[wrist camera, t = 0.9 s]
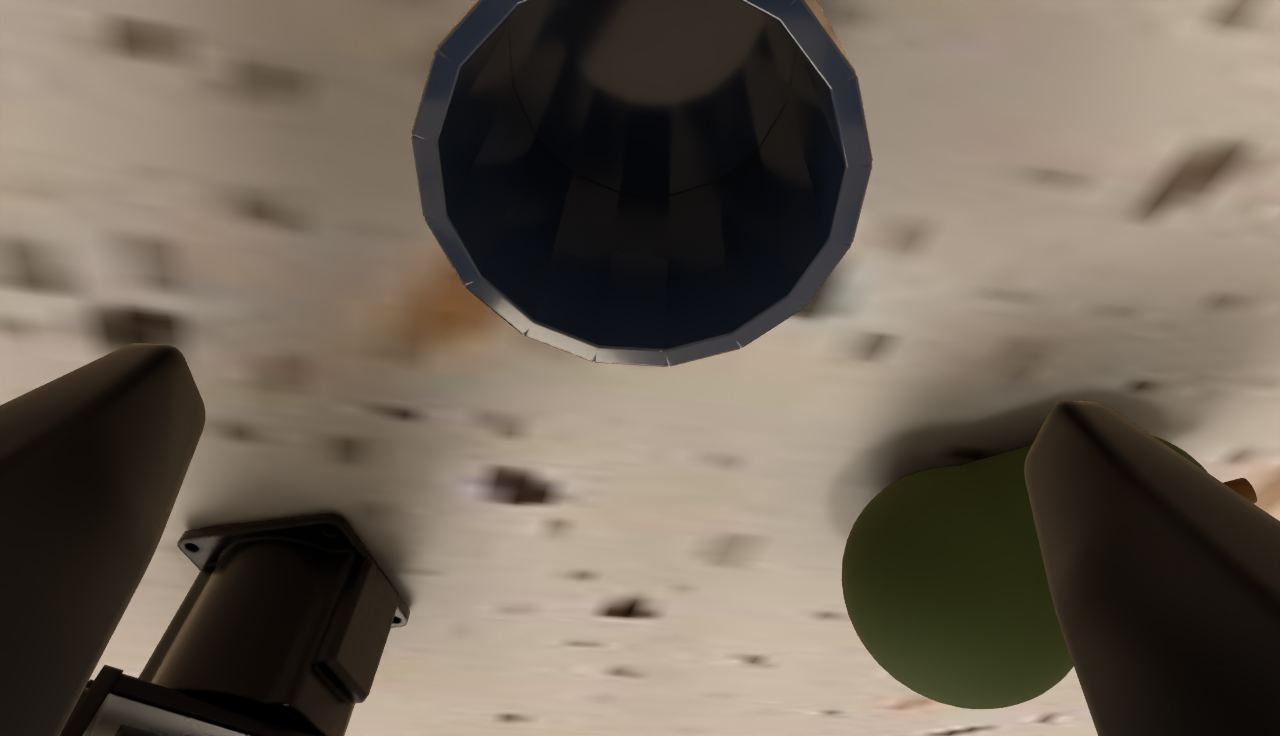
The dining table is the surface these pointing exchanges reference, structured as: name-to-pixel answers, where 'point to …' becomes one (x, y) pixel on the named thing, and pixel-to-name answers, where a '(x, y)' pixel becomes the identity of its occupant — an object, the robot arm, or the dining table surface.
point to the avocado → (960, 584)
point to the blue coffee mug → (642, 168)
